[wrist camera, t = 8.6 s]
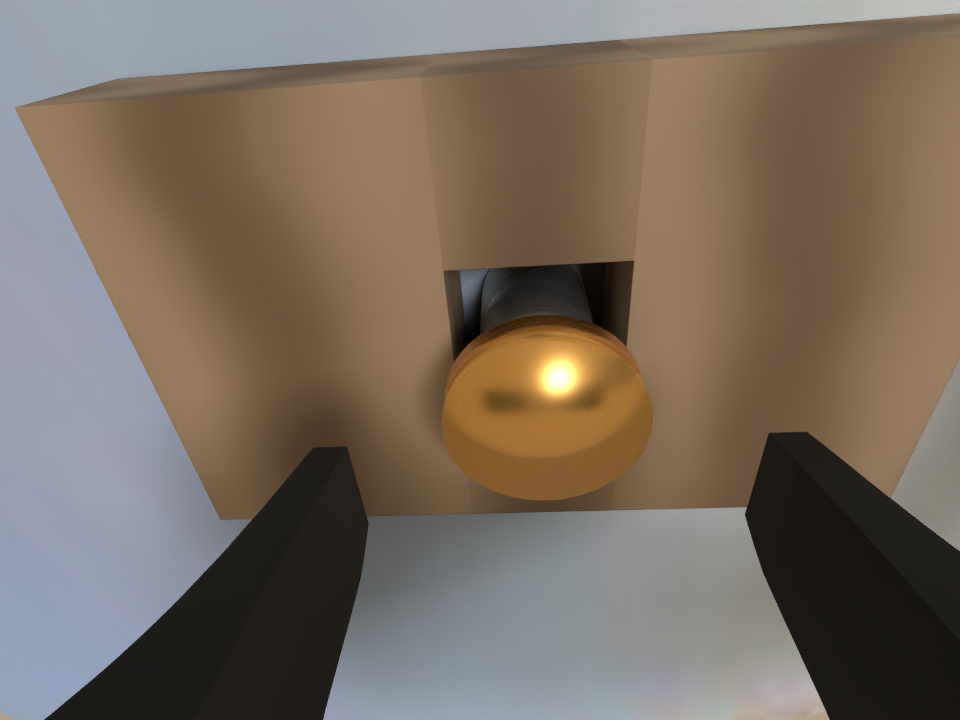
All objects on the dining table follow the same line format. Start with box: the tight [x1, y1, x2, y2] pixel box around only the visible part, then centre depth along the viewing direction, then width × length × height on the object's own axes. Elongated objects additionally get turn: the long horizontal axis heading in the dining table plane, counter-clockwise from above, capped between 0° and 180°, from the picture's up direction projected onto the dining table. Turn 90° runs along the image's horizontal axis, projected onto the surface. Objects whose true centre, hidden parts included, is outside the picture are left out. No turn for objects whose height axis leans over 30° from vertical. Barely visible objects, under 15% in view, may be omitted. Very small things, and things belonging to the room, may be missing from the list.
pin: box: [441, 264, 653, 500], centre depth 14 cm, size 4×4×6 cm
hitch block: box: [15, 13, 960, 520], centre depth 15 cm, size 20×12×4 cm, turn 94°
